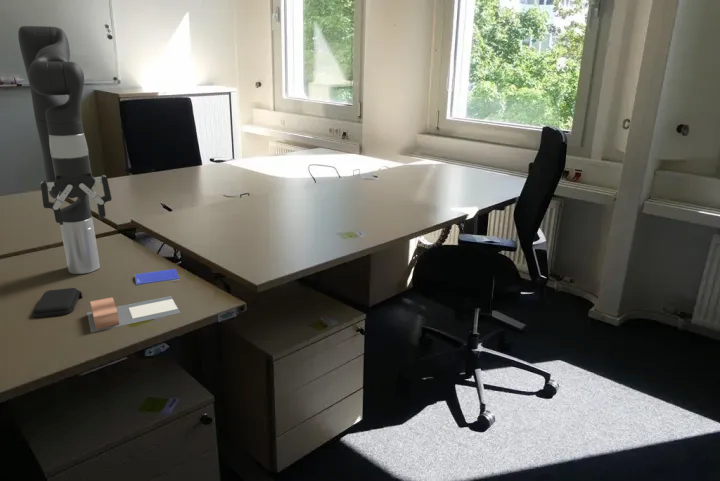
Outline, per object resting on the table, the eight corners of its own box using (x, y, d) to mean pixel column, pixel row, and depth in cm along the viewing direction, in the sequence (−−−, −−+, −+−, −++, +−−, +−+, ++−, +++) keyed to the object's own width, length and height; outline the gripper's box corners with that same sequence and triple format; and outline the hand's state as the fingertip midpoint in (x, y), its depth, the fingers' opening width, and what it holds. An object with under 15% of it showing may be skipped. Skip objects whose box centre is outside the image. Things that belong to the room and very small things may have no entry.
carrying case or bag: (76, 317, 143) (86, 294, 156) (74, 307, 142) (84, 284, 155) (32, 322, 140) (45, 298, 153) (29, 312, 139) (43, 288, 152)
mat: (87, 314, 143) (86, 312, 143) (171, 297, 154) (171, 295, 154) (91, 334, 134) (90, 331, 134) (180, 314, 144) (180, 312, 144)
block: (92, 313, 143) (90, 301, 142) (114, 308, 146) (112, 297, 144) (96, 329, 135) (93, 317, 134) (119, 324, 138) (117, 312, 136)
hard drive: (136, 283, 160) (178, 277, 165) (134, 273, 167) (175, 268, 172) (136, 288, 161) (179, 282, 166) (135, 278, 168) (176, 272, 173)
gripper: (102, 148, 128) (112, 213, 133) (33, 153, 121) (46, 221, 126) (106, 154, 122) (115, 221, 127) (33, 159, 115) (47, 230, 120)
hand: (81, 221), depth 127 cm, fingers open, 8 cm apart
